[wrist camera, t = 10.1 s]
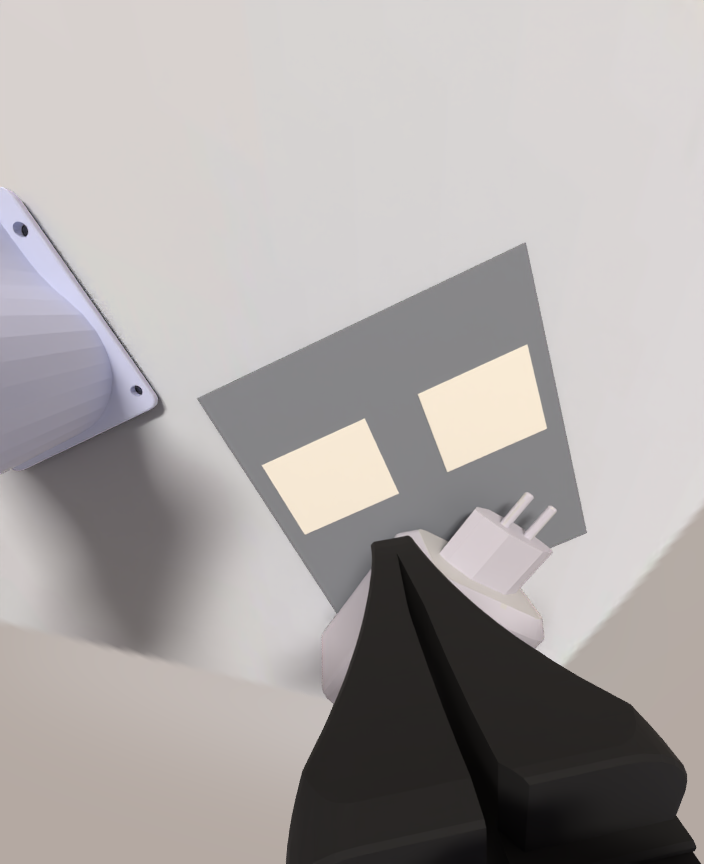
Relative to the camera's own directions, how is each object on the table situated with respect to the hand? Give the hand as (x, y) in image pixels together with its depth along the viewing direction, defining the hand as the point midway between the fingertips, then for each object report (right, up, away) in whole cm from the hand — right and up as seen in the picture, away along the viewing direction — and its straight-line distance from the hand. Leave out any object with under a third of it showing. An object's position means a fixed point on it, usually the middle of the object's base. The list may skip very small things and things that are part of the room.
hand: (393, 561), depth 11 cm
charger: (+4, -4, +10) cm, 12 cm away
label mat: (+2, +2, +8) cm, 8 cm away
